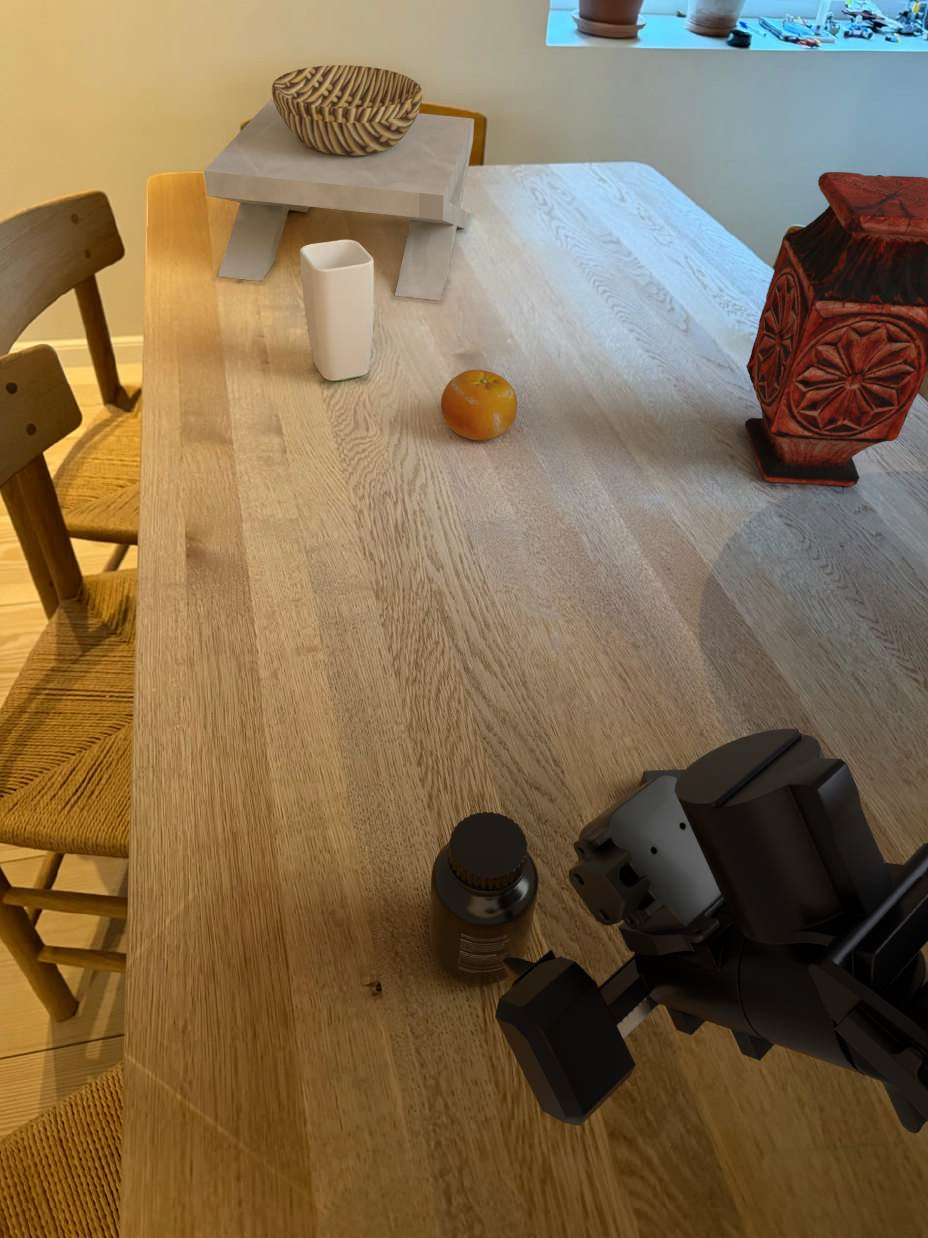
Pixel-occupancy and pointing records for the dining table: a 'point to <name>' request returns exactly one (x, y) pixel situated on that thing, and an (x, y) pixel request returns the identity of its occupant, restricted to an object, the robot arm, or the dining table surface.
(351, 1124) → the dining table surface
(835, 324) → the vase
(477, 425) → the fruit
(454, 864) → the supplement bottle
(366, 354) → the cup
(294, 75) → the grey stand with bowl
